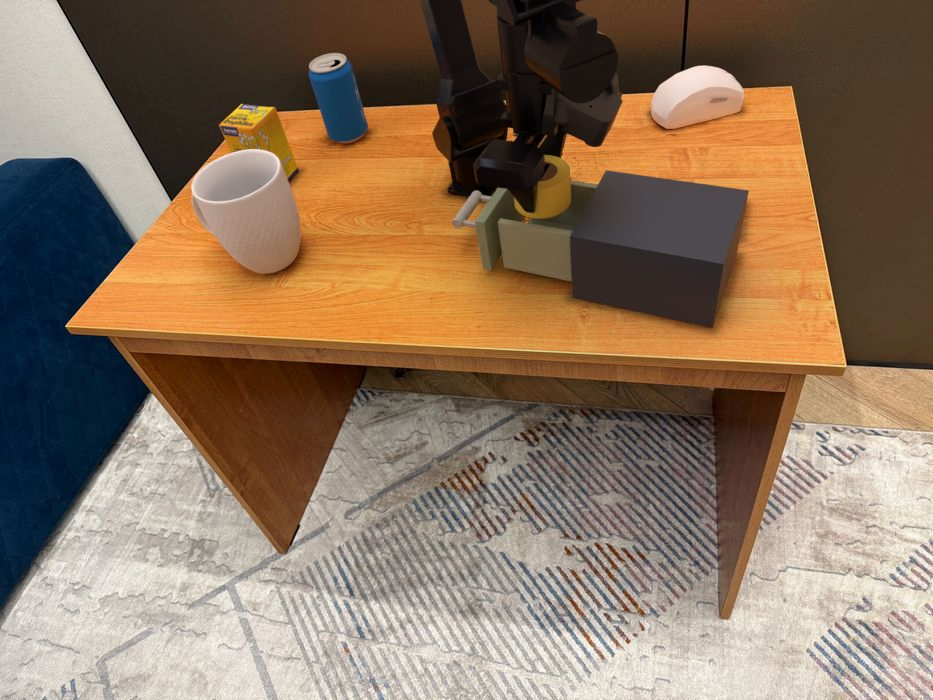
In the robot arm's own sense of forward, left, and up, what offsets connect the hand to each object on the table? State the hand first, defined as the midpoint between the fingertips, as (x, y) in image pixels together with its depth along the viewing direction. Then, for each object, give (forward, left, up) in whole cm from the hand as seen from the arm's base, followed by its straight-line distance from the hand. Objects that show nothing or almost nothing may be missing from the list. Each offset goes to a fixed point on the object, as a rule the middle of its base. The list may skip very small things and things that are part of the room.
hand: (541, 194), depth 78 cm
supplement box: (-46, +4, -9) cm, 47 cm away
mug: (-36, -11, -9) cm, 38 cm away
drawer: (-1, 0, -8) cm, 8 cm away
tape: (0, 0, -1) cm, 1 cm away
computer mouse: (+9, +35, -9) cm, 38 cm away
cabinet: (+13, 0, -9) cm, 16 cm away
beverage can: (-41, +18, -9) cm, 46 cm away
